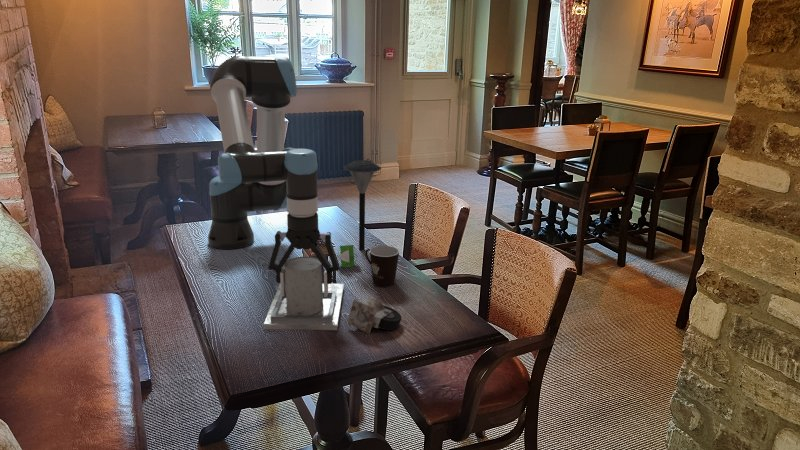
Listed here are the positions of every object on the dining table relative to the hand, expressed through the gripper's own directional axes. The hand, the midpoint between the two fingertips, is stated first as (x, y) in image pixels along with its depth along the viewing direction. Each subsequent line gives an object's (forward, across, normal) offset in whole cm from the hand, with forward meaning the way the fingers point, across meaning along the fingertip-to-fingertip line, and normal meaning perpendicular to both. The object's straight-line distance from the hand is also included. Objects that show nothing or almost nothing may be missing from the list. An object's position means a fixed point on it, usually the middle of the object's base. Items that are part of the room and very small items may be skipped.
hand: (304, 294), depth 147 cm
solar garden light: (+6, -13, -46) cm, 48 cm away
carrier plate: (+5, 0, -3) cm, 6 cm away
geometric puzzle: (+6, -9, -32) cm, 34 cm away
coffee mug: (+6, -20, -21) cm, 30 cm away
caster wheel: (+6, -19, +6) cm, 21 cm away
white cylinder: (+4, 0, 0) cm, 4 cm away
